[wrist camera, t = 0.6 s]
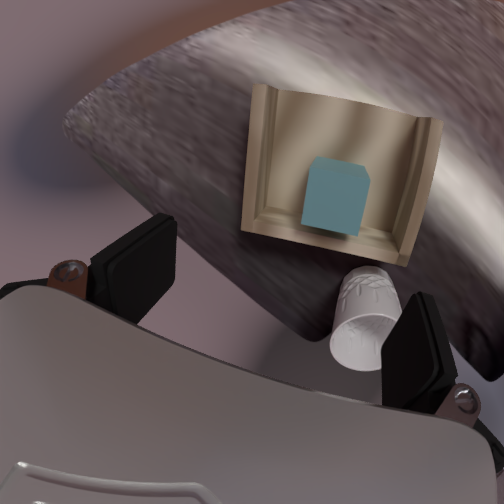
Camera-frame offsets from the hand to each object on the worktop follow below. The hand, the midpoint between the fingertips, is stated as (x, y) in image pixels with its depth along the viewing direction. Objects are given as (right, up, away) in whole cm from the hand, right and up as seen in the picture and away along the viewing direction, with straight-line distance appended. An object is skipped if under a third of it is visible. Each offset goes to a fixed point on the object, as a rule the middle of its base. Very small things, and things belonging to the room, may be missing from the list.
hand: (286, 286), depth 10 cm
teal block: (+8, +8, +18) cm, 21 cm away
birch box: (+8, +10, +17) cm, 22 cm away
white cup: (+13, -3, +23) cm, 27 cm away
